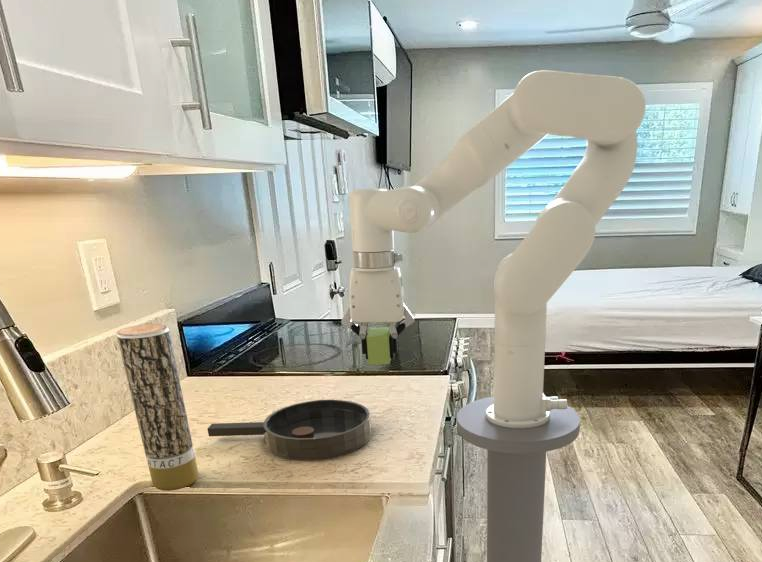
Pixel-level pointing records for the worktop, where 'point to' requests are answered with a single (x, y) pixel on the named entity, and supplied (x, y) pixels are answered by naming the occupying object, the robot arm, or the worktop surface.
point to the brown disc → (303, 432)
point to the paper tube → (158, 405)
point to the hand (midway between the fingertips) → (380, 356)
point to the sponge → (378, 346)
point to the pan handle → (236, 429)
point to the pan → (318, 429)
